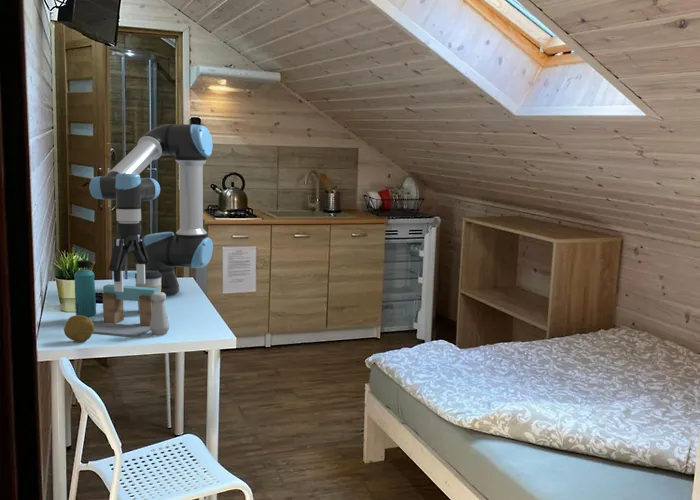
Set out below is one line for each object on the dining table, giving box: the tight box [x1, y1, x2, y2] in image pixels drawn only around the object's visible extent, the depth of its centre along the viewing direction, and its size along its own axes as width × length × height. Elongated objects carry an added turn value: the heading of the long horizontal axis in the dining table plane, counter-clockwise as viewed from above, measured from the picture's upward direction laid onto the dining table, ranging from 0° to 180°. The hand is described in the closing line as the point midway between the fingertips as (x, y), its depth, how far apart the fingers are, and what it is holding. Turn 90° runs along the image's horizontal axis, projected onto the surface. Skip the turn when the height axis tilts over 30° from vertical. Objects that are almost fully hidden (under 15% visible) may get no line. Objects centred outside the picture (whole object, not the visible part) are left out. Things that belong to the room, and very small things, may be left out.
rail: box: [102, 284, 159, 302], centre depth 228 cm, size 3×18×4 cm, turn 77°
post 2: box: [139, 296, 154, 327], centre depth 227 cm, size 5×4×10 cm
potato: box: [63, 314, 94, 343], centre depth 208 cm, size 7×8×8 cm
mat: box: [92, 321, 151, 338], centre depth 221 cm, size 10×20×1 cm, turn 77°
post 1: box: [102, 293, 125, 324], centre depth 230 cm, size 5×4×10 cm
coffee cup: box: [134, 268, 162, 314], centre depth 243 cm, size 9×9×15 cm
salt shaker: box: [150, 292, 170, 337], centre depth 217 cm, size 6×6×13 cm
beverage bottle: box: [73, 259, 97, 319], centre depth 230 cm, size 6×7×20 cm
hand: (130, 287), depth 227 cm, fingers open, 13 cm apart
